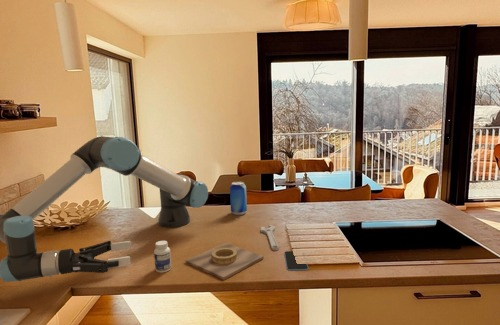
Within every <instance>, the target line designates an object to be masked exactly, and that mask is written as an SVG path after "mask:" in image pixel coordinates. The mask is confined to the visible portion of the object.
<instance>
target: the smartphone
mask: <svg viewBox="0 0 500 325" xmlns="http://www.w3.org/2000/svg"><path fill="white" fill-rule="evenodd" d="M293 251H294V250H290V251H287V250H286V251H284V253H283V255H284V259H285V267H286V270H287V271H291V272H292V271H297V272H298V271H308V270H309V265H308V263H307V264H297V263H296V260H295V256H294V255H293Z"/></svg>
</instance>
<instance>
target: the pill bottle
mask: <svg viewBox="0 0 500 325" xmlns="http://www.w3.org/2000/svg"><path fill="white" fill-rule="evenodd" d="M168 245H169V244H168V241H167V240H159V241H156V242H155V249H154V250H153V255H154V256H153V258H154V266H155V271H156V272H157V273H167V272H168V271H170V270H171V269H172V261H171V260H172V259H171V258H172V257H171V248H170V247H169V246H168Z"/></svg>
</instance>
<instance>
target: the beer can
mask: <svg viewBox="0 0 500 325" xmlns="http://www.w3.org/2000/svg"><path fill="white" fill-rule="evenodd" d="M229 192H230V193H229V195H230V211H231V213H232V214H233V215H235V216H240V215H244V214H246V212H247V210H248V208H247V207H248V204H247V203H248V202H247V200H248V199H247V186H246V184H245V182H243V181H233V182H231V185H230V187H229Z"/></svg>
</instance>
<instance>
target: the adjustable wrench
mask: <svg viewBox="0 0 500 325" xmlns="http://www.w3.org/2000/svg"><path fill="white" fill-rule="evenodd" d="M275 229H276V227H275V225H272V224H268V226H267V228H266V227H265V226H261V227H260V233H263V234H266V235H267V238H268V242H269V244H270V247H271V250H272V251H279V245H278V242H277V240H276V238H275V236H274V231H276V230H275Z"/></svg>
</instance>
